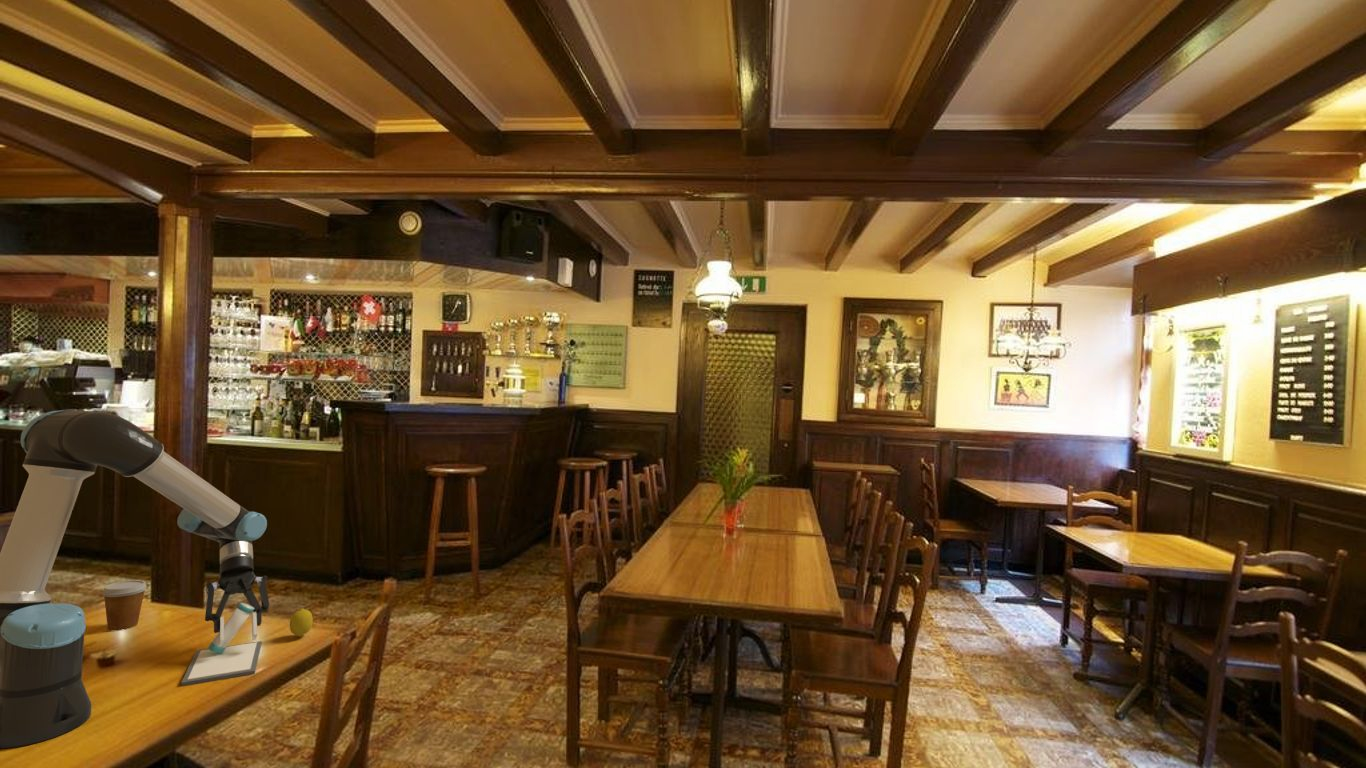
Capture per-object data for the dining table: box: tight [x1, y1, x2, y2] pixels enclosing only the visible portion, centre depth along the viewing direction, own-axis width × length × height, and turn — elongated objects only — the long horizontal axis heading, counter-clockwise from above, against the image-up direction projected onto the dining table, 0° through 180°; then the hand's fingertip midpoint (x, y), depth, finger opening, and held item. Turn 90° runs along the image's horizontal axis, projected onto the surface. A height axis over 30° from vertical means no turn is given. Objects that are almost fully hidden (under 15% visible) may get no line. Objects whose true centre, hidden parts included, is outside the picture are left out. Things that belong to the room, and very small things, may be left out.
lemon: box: [289, 607, 314, 638], centre depth 170 cm, size 6×6×8 cm
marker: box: [207, 602, 255, 653], centre depth 158 cm, size 4×4×12 cm
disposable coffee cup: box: [101, 579, 148, 631], centre depth 173 cm, size 10×10×12 cm
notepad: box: [180, 640, 263, 687], centre depth 152 cm, size 14×20×1 cm
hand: (238, 639), depth 155 cm, fingers closed on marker, 6 cm apart
